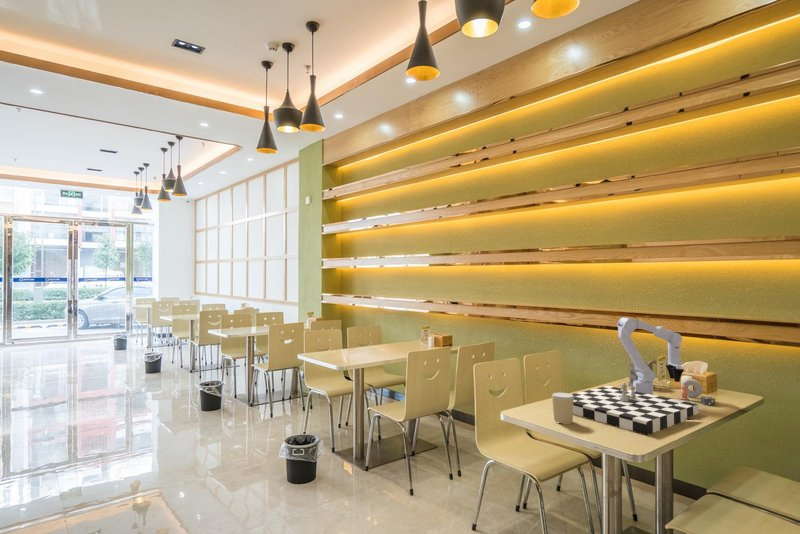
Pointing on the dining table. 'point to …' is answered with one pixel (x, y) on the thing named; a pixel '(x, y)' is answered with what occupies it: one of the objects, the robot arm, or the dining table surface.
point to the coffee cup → (563, 407)
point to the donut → (696, 384)
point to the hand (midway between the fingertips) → (674, 380)
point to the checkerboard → (631, 408)
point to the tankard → (633, 373)
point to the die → (708, 401)
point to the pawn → (684, 393)
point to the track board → (690, 402)
